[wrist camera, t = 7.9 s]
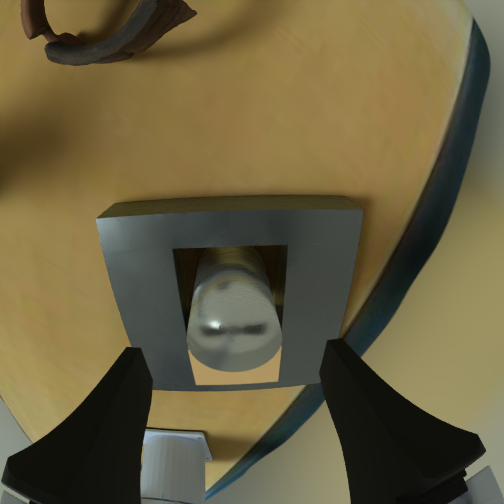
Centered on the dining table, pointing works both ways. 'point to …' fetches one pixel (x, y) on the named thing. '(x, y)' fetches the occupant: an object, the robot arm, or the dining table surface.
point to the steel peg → (233, 311)
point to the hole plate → (227, 235)
